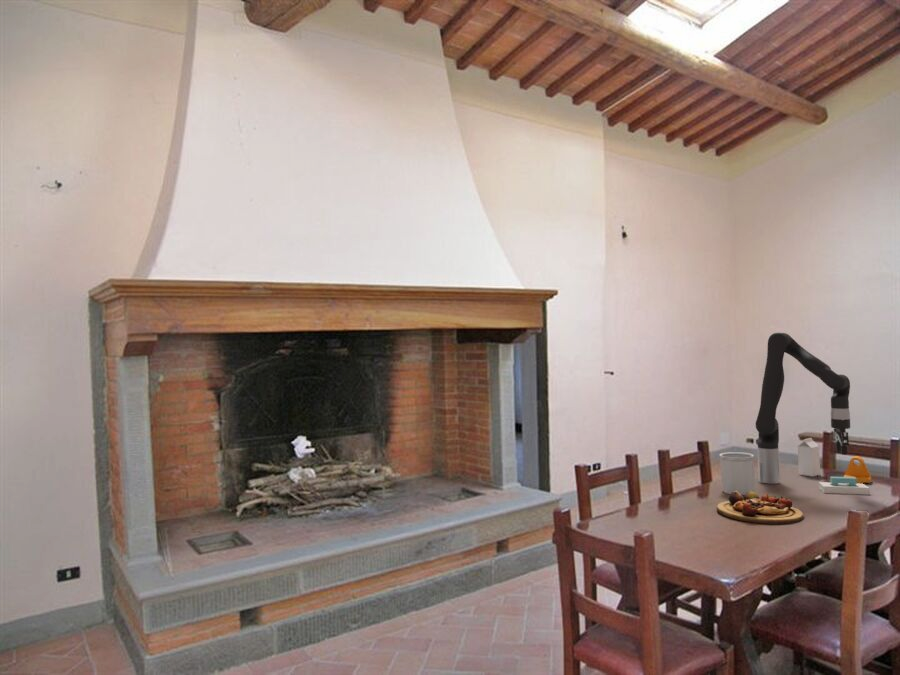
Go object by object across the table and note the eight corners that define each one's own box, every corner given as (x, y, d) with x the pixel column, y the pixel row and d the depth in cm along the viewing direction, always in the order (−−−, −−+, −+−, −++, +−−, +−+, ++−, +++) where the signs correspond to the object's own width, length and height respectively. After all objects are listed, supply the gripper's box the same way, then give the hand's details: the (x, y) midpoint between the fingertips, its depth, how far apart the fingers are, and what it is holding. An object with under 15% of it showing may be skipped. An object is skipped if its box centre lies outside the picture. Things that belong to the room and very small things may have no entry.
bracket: (843, 482, 300) (842, 457, 301) (845, 479, 306) (844, 455, 306) (869, 484, 293) (868, 459, 294) (871, 481, 299) (870, 457, 299)
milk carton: (820, 475, 316) (818, 438, 317) (812, 477, 313) (811, 440, 313) (806, 473, 323) (805, 437, 323) (798, 474, 319) (797, 438, 319)
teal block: (832, 491, 282) (831, 477, 282) (830, 490, 285) (829, 476, 285) (857, 492, 279) (856, 478, 279) (855, 491, 281) (854, 477, 282)
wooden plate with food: (775, 530, 229) (775, 508, 229) (700, 512, 256) (700, 492, 256) (819, 517, 246) (819, 496, 246) (744, 501, 273) (744, 482, 273)
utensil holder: (722, 494, 283) (721, 457, 284) (719, 487, 297) (717, 451, 298) (757, 496, 279) (756, 457, 279) (752, 488, 293) (751, 452, 293)
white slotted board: (823, 492, 280) (823, 486, 280) (819, 488, 289) (818, 482, 289) (869, 494, 274) (869, 487, 274) (863, 490, 283) (863, 483, 283)
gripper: (827, 415, 290) (828, 450, 290) (835, 419, 277) (836, 455, 276) (845, 416, 288) (846, 450, 287) (854, 419, 274) (855, 455, 274)
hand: (841, 452), depth 282 cm, fingers open, 8 cm apart
